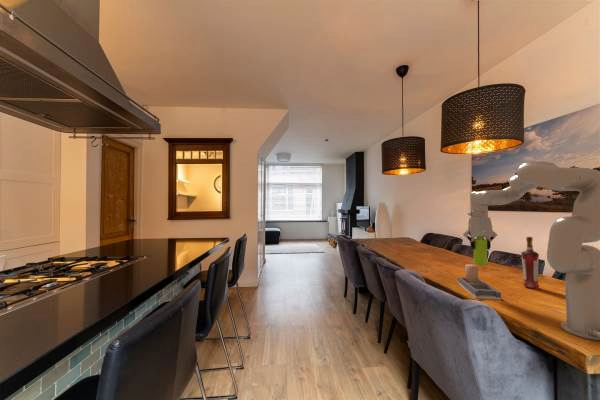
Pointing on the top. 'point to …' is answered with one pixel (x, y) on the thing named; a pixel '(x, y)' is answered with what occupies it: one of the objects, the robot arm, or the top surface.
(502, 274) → the top surface
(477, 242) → the soap dispenser
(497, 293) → the rail
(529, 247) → the liquor
